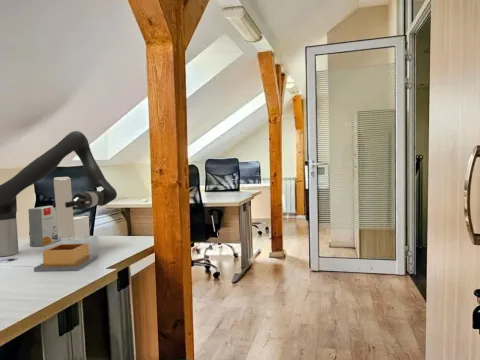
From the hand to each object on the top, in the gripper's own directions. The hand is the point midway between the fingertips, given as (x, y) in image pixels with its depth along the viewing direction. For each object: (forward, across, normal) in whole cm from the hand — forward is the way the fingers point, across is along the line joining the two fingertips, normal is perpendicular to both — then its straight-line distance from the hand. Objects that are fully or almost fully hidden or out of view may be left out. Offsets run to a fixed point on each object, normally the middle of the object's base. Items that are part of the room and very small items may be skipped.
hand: (60, 205), depth 151 cm
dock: (-2, 0, +26) cm, 26 cm away
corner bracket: (-54, -32, +26) cm, 68 cm away
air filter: (-2, 0, +14) cm, 14 cm away
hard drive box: (-39, -42, +26) cm, 63 cm away
